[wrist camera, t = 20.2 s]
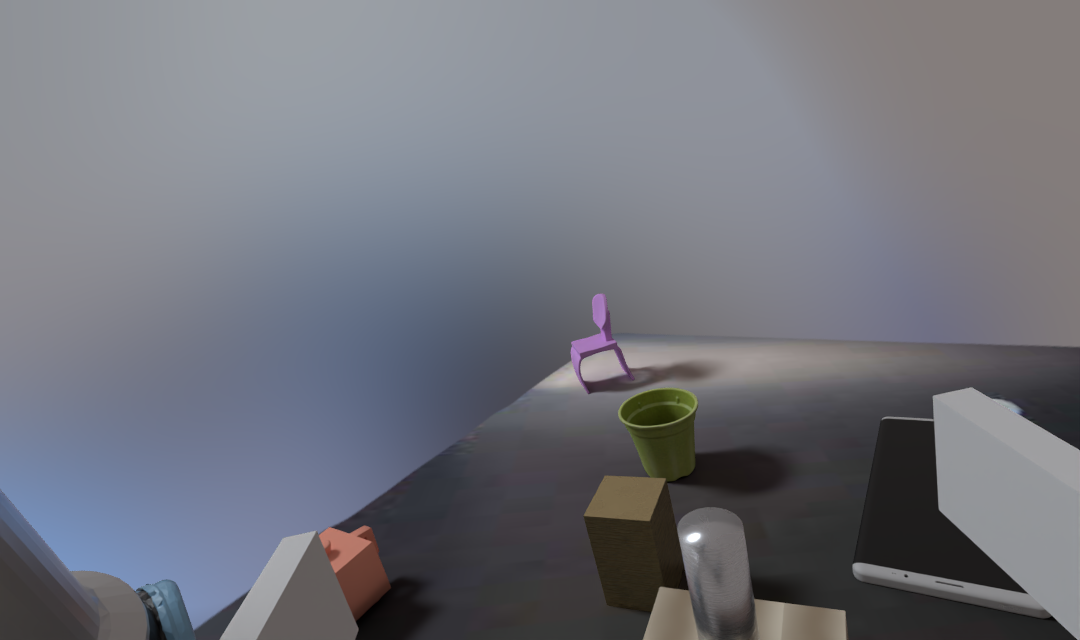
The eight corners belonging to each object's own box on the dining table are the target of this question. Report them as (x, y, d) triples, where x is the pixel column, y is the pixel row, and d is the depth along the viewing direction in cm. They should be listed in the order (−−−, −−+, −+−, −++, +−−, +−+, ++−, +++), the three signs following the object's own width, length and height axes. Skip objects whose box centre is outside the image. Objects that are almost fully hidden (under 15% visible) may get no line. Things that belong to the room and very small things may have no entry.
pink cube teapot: (274, 644, 61) (243, 580, 58) (364, 564, 70) (340, 506, 67) (316, 670, 56) (285, 602, 54) (408, 581, 65) (384, 519, 63)
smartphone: (1024, 436, 64) (1024, 422, 63) (1056, 627, 43) (1056, 608, 43) (882, 426, 72) (881, 413, 71) (852, 584, 51) (850, 568, 51)
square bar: (607, 605, 55) (583, 516, 52) (625, 559, 60) (604, 475, 57) (670, 614, 52) (649, 521, 49) (684, 566, 57) (666, 478, 54)
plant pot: (699, 495, 67) (686, 427, 64) (621, 487, 71) (606, 425, 69) (716, 449, 74) (706, 387, 72) (645, 445, 79) (633, 387, 77)
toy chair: (575, 379, 105) (555, 300, 101) (621, 365, 106) (604, 286, 102) (586, 397, 97) (565, 312, 93) (636, 382, 98) (618, 297, 94)
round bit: (708, 732, 41) (671, 546, 36) (716, 681, 45) (684, 505, 40) (769, 746, 39) (739, 553, 35) (773, 692, 43) (746, 509, 38)
